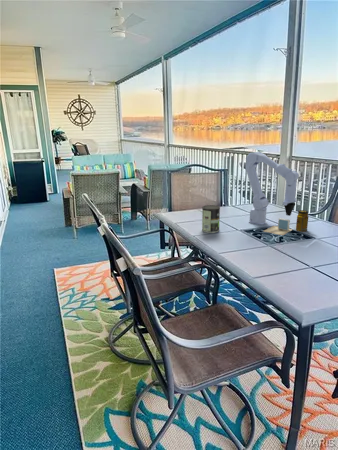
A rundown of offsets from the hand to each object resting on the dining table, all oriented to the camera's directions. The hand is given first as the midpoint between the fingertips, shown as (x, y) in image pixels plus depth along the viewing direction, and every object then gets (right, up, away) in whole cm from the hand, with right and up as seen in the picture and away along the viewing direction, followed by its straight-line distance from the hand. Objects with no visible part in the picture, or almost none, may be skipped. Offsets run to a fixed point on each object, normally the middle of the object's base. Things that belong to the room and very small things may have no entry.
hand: (288, 215), depth 188 cm
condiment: (+7, -10, -4) cm, 12 cm away
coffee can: (-46, -9, 0) cm, 47 cm away
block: (-4, -8, -2) cm, 9 cm away
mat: (-7, -9, -3) cm, 12 cm away
